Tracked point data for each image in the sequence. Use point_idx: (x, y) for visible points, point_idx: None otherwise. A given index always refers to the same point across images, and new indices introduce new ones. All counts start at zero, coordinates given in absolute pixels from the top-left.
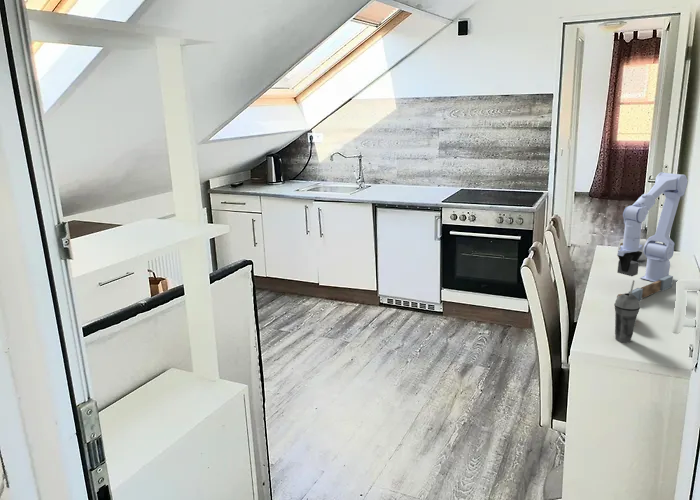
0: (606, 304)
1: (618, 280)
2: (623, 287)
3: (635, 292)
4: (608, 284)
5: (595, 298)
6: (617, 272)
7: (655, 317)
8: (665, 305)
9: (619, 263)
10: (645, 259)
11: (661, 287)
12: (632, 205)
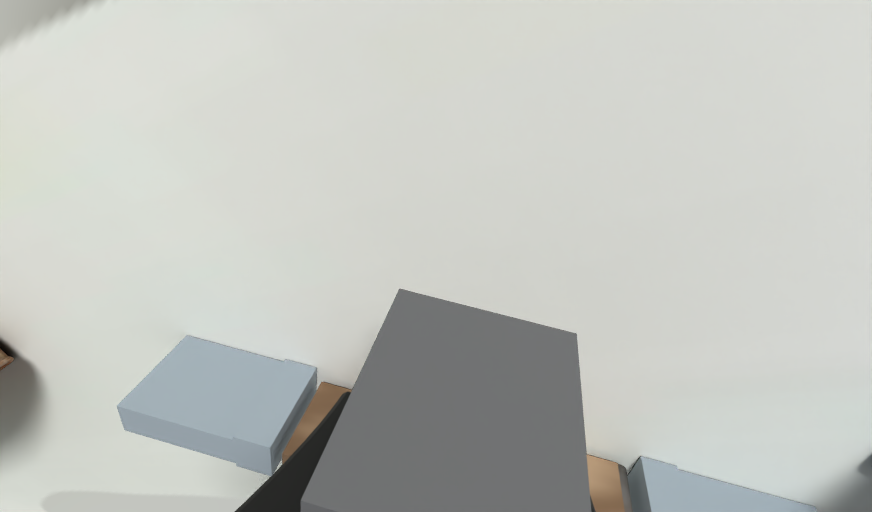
0: (34, 232)
1: (826, 112)
2: (539, 235)
3: (168, 436)
4: (549, 60)
5: (43, 117)
6: (399, 293)
7: (139, 460)
8: None
9: (329, 452)
10: None
11: (633, 503)
12: None
